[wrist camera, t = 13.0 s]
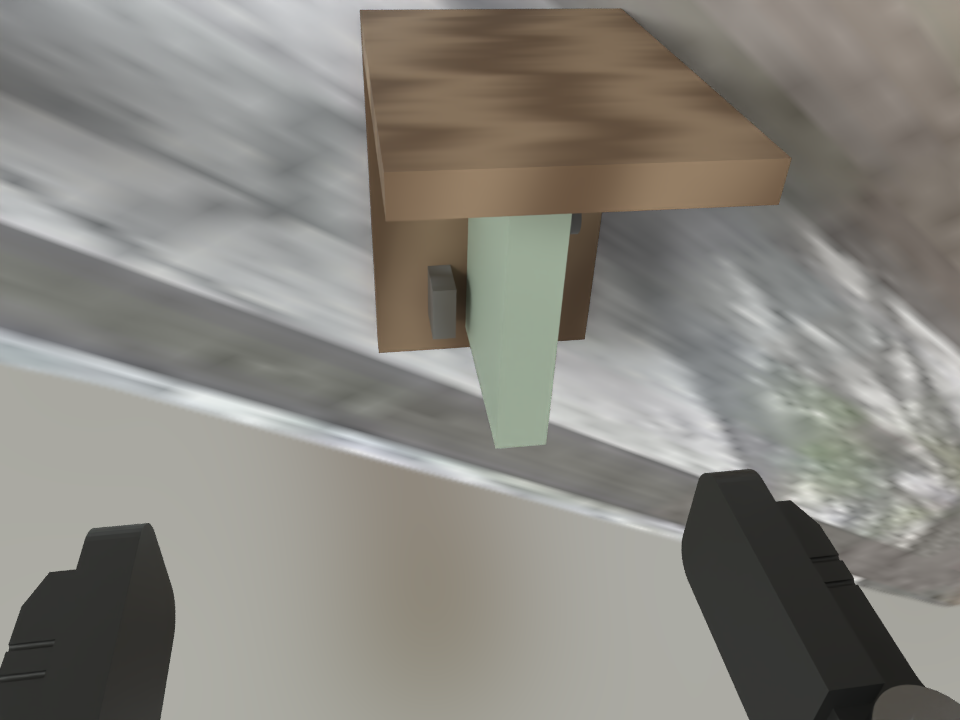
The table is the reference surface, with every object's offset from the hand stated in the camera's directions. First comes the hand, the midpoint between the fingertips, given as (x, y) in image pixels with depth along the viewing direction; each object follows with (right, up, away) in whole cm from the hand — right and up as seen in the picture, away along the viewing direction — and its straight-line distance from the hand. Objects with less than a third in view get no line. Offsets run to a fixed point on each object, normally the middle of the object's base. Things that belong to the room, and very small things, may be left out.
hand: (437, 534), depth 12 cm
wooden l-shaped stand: (+1, +11, +30) cm, 32 cm away
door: (+1, +9, +30) cm, 31 cm away
